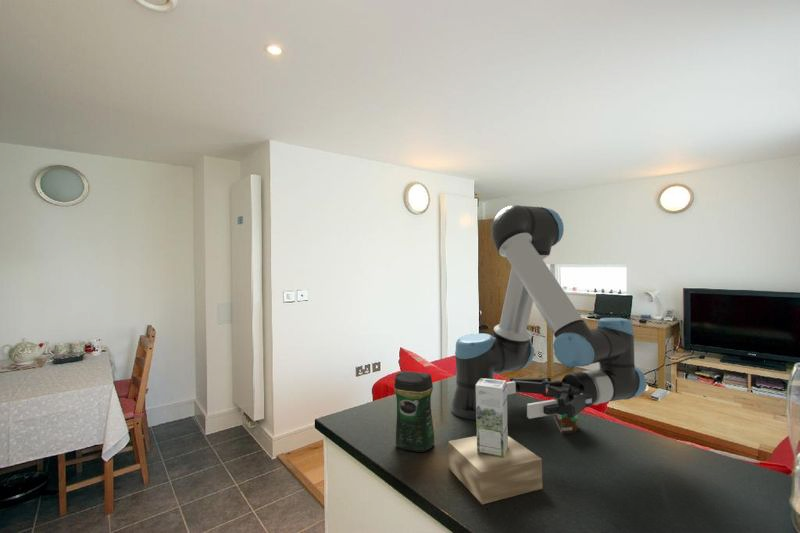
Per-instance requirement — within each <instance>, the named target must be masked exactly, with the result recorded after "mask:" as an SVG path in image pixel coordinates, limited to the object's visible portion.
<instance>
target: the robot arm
mask: <svg viewBox="0 0 800 533" xmlns="http://www.w3.org/2000/svg"><path fill="white" fill-rule="evenodd" d="M490 231H491V232H490V233H491V239H492V242H493V244H494V247H495V249H496V250H497V251H498V253H499V255H500V256H501V257H503V258H506V259H507V261H508V262H509V264H510V266H511V269H510V273H509V277H508V282H507V287H506V292H505V296H504V302H503V306H502V311H501V317H500V320H499V323H498V324H496V325H495V326H494V327H493V330H492V335H491V334H489V333H483V332H482V333H471V334H466V335H464V336H463V335H462V336H461V337H458V339H457V340H456V342H455V352H454V355H455V381H456V382H455V383H456V386H455V389H454V393H453V396H452V399H451V403H450V404H451V405H450V410H451V413H452V414H453V415H455V416H457V417H459V418H461V419H465V420H471V421H472V420H473V421H476V384H477V382H478V381H479V380H480V379H481V378H484V379H494V380H495V375H499V374H505V373H508V372H516V371H520V370H522V369H525V368H527V367H528V366H529V365H530V364H531V363H532V362H533V359H534V356H535V355H534V354H535V348H534V346H533V342H532V340H531V334H530V333H529V332H528V326H529V322H530V317H531V313H532V308H533V304H535V306H536V308H537V310H538V311H539V312H540V315H541V316H542V318H543V319H544V321H545V323H546V324H547V326H548V328H549V329H550V331H551V333H552V334H553V336H554V337H555V339H554V341H553V344H552V349H553V351H554V352H553V353H554V356H555V358H556V360H557V361H558V362H559V363H560V364H562V365H563V366H566V367H568V368H577V367H578V368H579V367H586V366H589V365H592V364H593V365H594V364H597V363H598V365H599V369H589V370H582V371H575V372H569V373H567V374H565V375H564V377H563V378H562V380H552V378H551V377H542V378H540V377H539V378H537V377H536V378H535V377H533V378H532V377H530V378H529V377H510V378H509V381H506V382H507V396H509V395H516V393H525V394H526V393H527V394H534V395H535V394H537V395H542V397H545V398H553V399H548V400H542V401H536V402H531V403H527V404H526V418H528V419H530V420H531V419H535V418H543V417H547V416H552V415H554V414H557V413H558V414H560V415H564V414H567V417H569V418H573V417H574V416H576V415H577V414H578V415H579V413H581V412H583V411H584V410H585V409H587V408H590V407H593V406H592V405H594V406H598V405H599V404H602V403H603V404H604V403H608V402H617V401H621V400H630V399H633V398H637V397H640V396H641V395H642V394H644V393H645V391H646V389H647V386H648V385H647V384H648V383H647V379H646V378H645V376H644V372H642V370H641V369H640V368H638V367H636V365H635V334H634V325H633V322H632V321H631V320H630V319H628V318H627V319H626V318H622V317H601V318H600V319H598V320H597V326H596V328H593V329H591V328H590V327H589V326H588V324H587V322H586V321H585V320H584V319H583V318H582V316H581V314H580V313H579V311H578V310H577V308H576V307H575V306H574V304H573V302H572V301H571V300H570V298H569V296H568V295H567V294H566V292H565V290H564V289H563V287H562V286H561V284H560V283H559V281H558V280H557V278H556V277H555V275H554V274H553V272H552V271H551V270H550V268H549V267H548V265H547V264H546V262H545V259H546V258H547V257H549V256H550V255H551V251H552V247H554V246H556V245H557V244H558V243H560V241H562V238H563V236H564V222H563V219H562V218H561V217H560V214H559V213H558V212H556V211H555V210H554V209H551V208H547V207H543V206H530V205H529V206H527V205H519V204H517V205H516V204H515V205H509V206H506V207H504V208H502V209H500V211H499V212H497V213H496V215H495V216H494V218H493V220H492V222H491V229H490ZM554 398H555V399H558V404H556V400H554Z"/></svg>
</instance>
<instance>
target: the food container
mask: <svg viewBox="0 0 800 533" xmlns="http://www.w3.org/2000/svg"><path fill="white" fill-rule="evenodd" d="M553 400H556V404H558V399H555V398H554V397H553ZM553 415H554V421H555V423H556V425H557V427H558V429H559V431H560V433H561V434H563V435H565V434H573V433H577V431H578V425H579V423H578V421H579V413H578V414H577V415H576V416H574V417H573V418H569V417H567V414H564V415H560V414H558V413H557V414H553Z"/></svg>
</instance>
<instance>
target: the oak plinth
mask: <svg viewBox="0 0 800 533" xmlns="http://www.w3.org/2000/svg"><path fill="white" fill-rule="evenodd" d="M447 447H448V448H447V450H448V451H447V454H448V455H447V456H448V469H449V470H450V471H451V473H453V474H454V475H455V477H457V479H458V480H459V481H460V482H461V483H462V484H463V485H464V487H465V488H466V489H467V490H468V491H469V492H470V493H471V494H472V495H473V497H475V498H476V499H477V501H478V502H479V503H480V504H481V505H485V504H489V503H493V502H497V501H500V500H503V499H508V498H512V497H516V496H519V495H520V496H521V495H523V494H527V493H531V492H534V491H539V490H542V489H543V459H542V458H541V456H539V455H537V454H535V453H534V452H532V451H531V450H530V449H528V448H527V447H526V446H524V445H522V444H521V443H519V442H518V441H517V440H515V439H513V438H512V437H511V436H509V435H508V447H507V450H506V453H505V456H504V457H499V456H493V455H488V454H483V453H478V452H477V435H473V436H469V437H464V438H463V437H462V438H458V439H453V440H448V442H447Z"/></svg>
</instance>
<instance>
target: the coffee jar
mask: <svg viewBox="0 0 800 533" xmlns="http://www.w3.org/2000/svg"><path fill="white" fill-rule="evenodd" d="M432 379H433V378H432V375H431V374H430V373H427V372H417V371H407V370H406V371H405V370H402V371H400V372H398V373H397V374H395V377H394V383H393V384H394V387H393V390H394V394H395V396H396V423H395V424H396V425H395V444H396V446H397V447H398V448H399V449H403V450H407V451H412V452H417V453H419V452H420V453H422V452H426V451H429V450H430V449H432V447H433V446H434V444H435V432H434V430H435V429H434V425H433V424H434V423H433V417H432V406H431V405H432V404H431V400H432V398H431V396H432V393H433V390H434V385H433V380H432Z"/></svg>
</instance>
